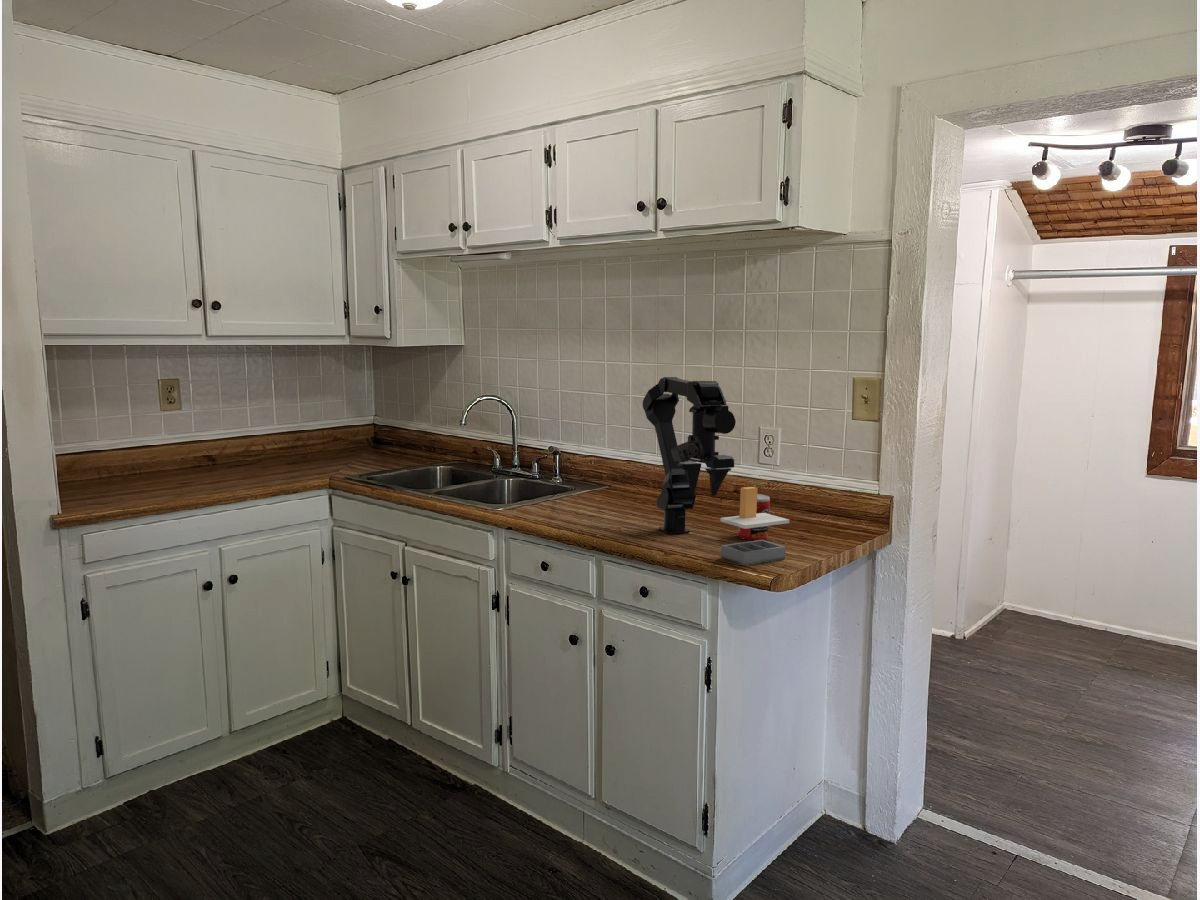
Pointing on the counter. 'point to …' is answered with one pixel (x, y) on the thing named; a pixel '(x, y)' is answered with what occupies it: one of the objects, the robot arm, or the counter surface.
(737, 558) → the tub
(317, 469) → the counter surface
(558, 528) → the counter surface
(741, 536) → the canned food
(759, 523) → the lid
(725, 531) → the counter surface
